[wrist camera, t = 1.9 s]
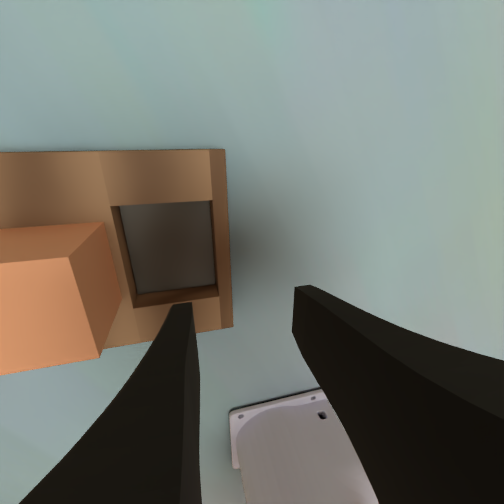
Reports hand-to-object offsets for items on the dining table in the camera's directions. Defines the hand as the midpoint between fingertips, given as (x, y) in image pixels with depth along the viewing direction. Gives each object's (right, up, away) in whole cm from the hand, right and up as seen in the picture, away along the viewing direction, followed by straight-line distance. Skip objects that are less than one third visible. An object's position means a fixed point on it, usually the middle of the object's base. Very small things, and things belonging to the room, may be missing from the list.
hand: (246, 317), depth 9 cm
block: (-9, +2, +4) cm, 10 cm away
